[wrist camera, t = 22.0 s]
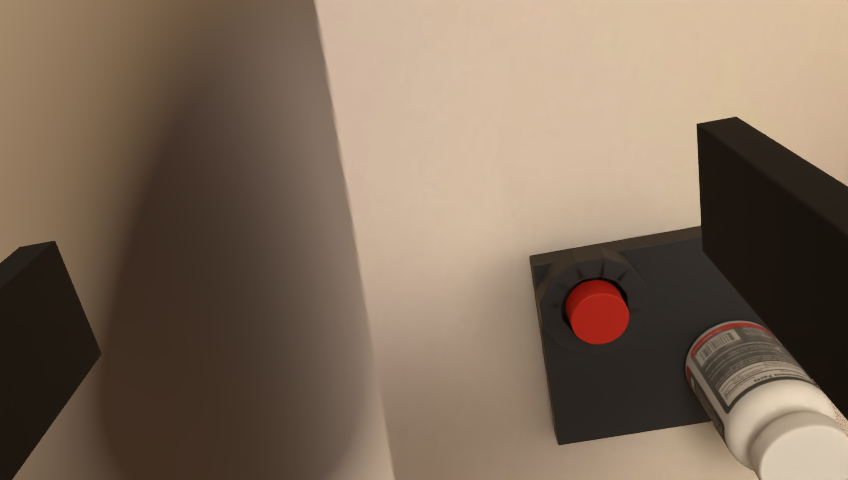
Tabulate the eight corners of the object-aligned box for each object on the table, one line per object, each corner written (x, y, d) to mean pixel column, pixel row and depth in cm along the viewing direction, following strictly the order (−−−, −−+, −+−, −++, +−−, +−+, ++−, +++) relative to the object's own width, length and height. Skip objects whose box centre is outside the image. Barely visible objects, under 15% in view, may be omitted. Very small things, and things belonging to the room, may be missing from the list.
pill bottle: (765, 398, 47) (849, 513, 38) (675, 396, 47) (738, 511, 38) (786, 317, 45) (880, 419, 36) (691, 315, 45) (762, 416, 36)
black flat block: (554, 432, 50) (562, 462, 47) (527, 247, 45) (534, 268, 42) (801, 393, 49) (824, 421, 46) (803, 199, 44) (829, 218, 41)
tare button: (568, 333, 44) (574, 349, 42) (562, 284, 43) (568, 299, 41) (623, 324, 44) (631, 339, 42) (619, 274, 43) (627, 289, 41)
